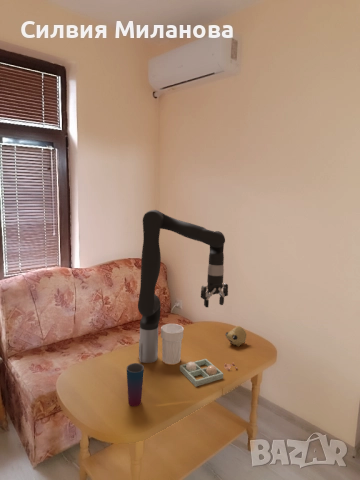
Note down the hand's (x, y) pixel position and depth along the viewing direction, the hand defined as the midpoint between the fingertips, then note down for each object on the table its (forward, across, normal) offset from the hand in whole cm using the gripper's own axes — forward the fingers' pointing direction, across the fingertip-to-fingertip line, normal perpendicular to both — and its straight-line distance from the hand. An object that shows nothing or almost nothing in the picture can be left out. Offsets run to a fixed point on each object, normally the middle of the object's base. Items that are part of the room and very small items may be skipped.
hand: (213, 305), depth 156 cm
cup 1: (+30, -45, -12) cm, 55 cm away
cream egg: (+30, -13, -3) cm, 33 cm away
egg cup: (+30, +6, -8) cm, 32 cm away
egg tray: (+30, -10, -7) cm, 32 cm away
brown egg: (+30, -7, -10) cm, 32 cm away
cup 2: (+30, -17, +11) cm, 36 cm away
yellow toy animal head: (+30, +24, +11) cm, 40 cm away
